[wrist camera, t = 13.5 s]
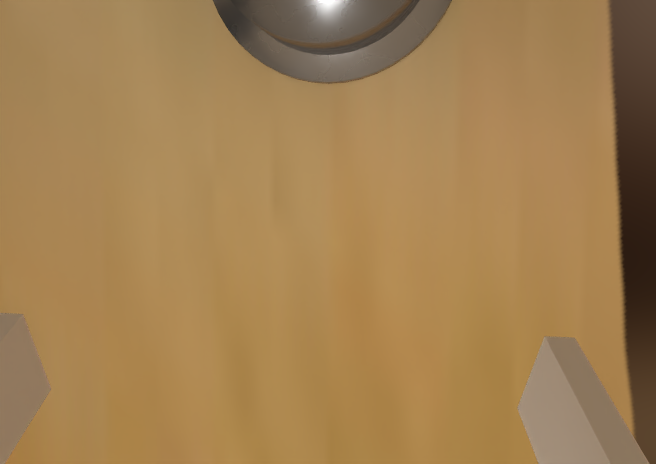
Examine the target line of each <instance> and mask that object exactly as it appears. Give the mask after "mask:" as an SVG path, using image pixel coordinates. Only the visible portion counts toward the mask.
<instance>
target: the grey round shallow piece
mask: <svg viewBox="0 0 656 464" xmlns="http://www.w3.org/2000/svg"><path fill="white" fill-rule="evenodd" d="M451 1H452V0H213V2H214V4H215V6H216V8H217V10H218V13H219V15H220V17H221V18H222V20H223V22H224V23H225V25H226V27H227V28H228V30H229V31H230V32H231V34H232V35H233V36H234V37H235V39H236V40H237V41H238V42H239V44H241V45H242V46H243V47H244V48H245V49H246V50H247V51H248V52H249V53H250V54H251V55H252V56H254V57H255V58H257V59H258V60H259V61H261V62H262V63H263V64H265V65H267V66H268V67H270V68H272V69H274V70H276V71H278V72H280V73H282V74H284V75H287V76H290V77H292V78H295V79H299V80H303V81H308V82H314V83H328V84H329V83H344V82H349V81H354V80H359V79H363V78H366V77H369V76H371V75H374V74H377V73H379V72H381V71H383V70H385V69H387V68H389V67H391V66H393V65H394V64H396V63H397V62H399V61H400V60H402V59H403V58H405V57H406V56H408V55H409V54H410V53H411V52H412V51H413V50H415V49H416V48H417V47H418V46H419V45H420V44H421V43H422V42H423V41H424V40H425V39H426V38H427V37H428V36H429V34H430V33H431V32H432V31H433V30H434V29H435V27H436V26H437V24H438V23H439V21H440V20H441V19H442V17H443V16H444V14H445V12H446V11H447V9H448V7H449V5H450V3H451Z"/></svg>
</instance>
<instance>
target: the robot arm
mask: <svg viewBox="0 0 656 464" xmlns="http://www.w3.org/2000/svg"><path fill="white" fill-rule="evenodd" d="M50 390H51V387H50V384H49V382H48V379H47V376H46V374H45V371H44V369H43V366H42V363H41V361H40V358H39V355H38V353H37V350H36V347H35V345H34V342H33V339H32V337H31V334H30V332H29V329H28V326H27V324H26V321H25V318H24V316H23V314H9V313H0V464H5V462H6V461H7V459H8V457H9V456H10V454H11V453H12V451H13V449H14V448H15V446H16V445H17V443H18V441H19V440H20V438H21V437H22V435H23V433H24V432H25V430H26V429H27V427H28V425H29V424H30V422H31V421H32V419H33V417H34V416H35V414H36V413H37V411H38V409H39V408H40V406H41V405H42V403H43V401H44V400H45V398H46V397H47V395H48V393H49V392H50ZM518 411H519V414H520V416H521V419H522V422H523V424H524V427H525V429H526V432H527V435H528V437H529V440H530V442H531V445H532V448H533V450H534V453H535V455H536V458H537V461H538V463H539V464H649V463H648V461H647V459H646V457H645V456H644V454H643V452H642V451H641V449H640V447H639V446H638V444H637V442H636V441H635V439H634V437H633V435H632V434H631V432H630V430H629V429H628V427H627V425H626V424H625V422H624V420H623V419H622V417H621V415H620V413H619V412H618V410H617V408H616V407H615V405H614V403H613V402H612V400H611V398H610V397H609V395H608V393H607V391H606V390H605V388H604V386H603V385H602V383H601V381H600V380H599V378H598V376H597V375H596V373H595V371H594V370H593V368H592V366H591V364H590V363H589V361H588V359H587V358H586V356H585V354H584V353H583V351H582V349H581V348H580V346H579V344H578V342H577V341H576V339H575V338H569V337H546V336H545V337H544V340H543V342H542V345H541V347H540V350H539V353H538V355H537V358H536V360H535V363H534V366H533V368H532V371H531V374H530V376H529V379H528V381H527V384H526V387H525V389H524V392H523V394H522V397H521V400H520V402H519V405H518Z"/></svg>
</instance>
